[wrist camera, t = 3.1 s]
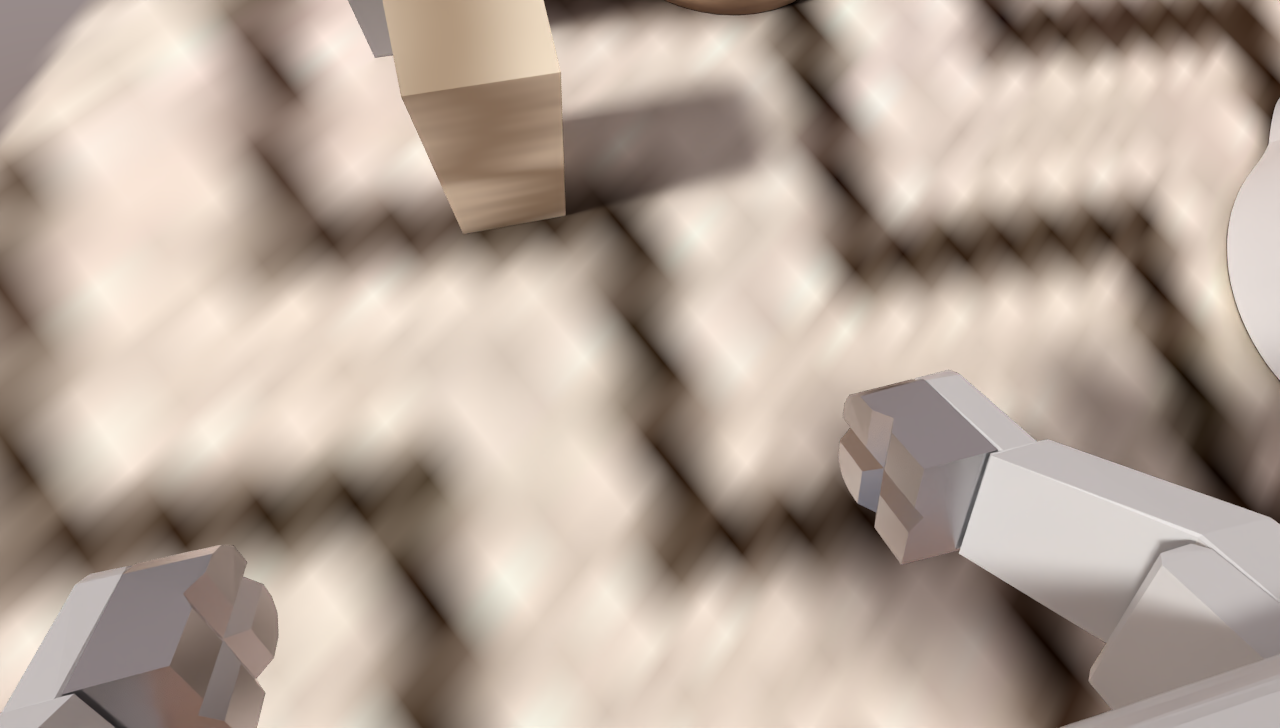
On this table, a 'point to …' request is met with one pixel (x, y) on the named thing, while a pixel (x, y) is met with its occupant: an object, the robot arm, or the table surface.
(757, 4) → the walnut board
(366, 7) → the slate grey block
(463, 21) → the birch block
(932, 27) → the table surface
